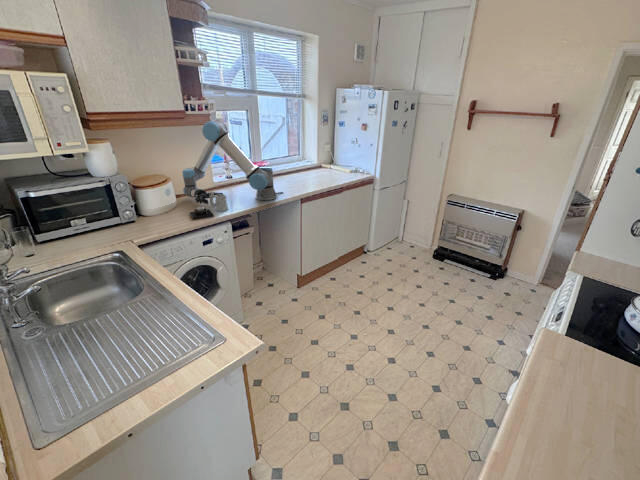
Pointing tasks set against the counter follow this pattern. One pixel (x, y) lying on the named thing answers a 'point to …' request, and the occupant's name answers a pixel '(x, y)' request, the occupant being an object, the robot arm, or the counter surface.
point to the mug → (219, 202)
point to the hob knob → (200, 208)
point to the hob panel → (201, 214)
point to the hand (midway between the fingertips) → (216, 199)
